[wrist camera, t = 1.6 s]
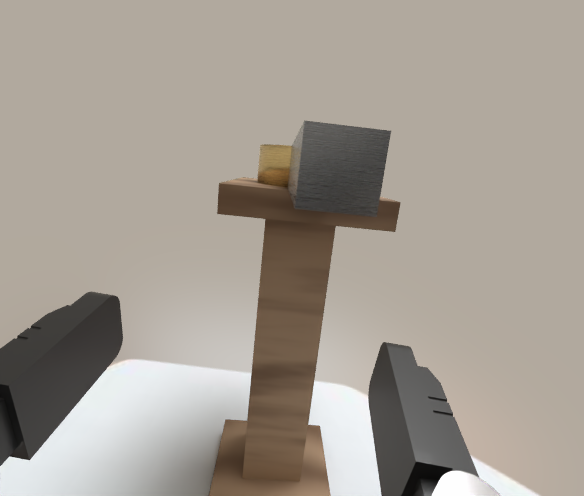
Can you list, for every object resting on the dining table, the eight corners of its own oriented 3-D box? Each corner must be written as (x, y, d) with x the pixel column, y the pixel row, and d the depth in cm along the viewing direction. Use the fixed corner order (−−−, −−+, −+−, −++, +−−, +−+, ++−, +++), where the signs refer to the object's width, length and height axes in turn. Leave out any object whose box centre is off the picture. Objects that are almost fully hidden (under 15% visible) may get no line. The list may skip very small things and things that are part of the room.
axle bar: (442, 224, 12) (461, 139, 12) (224, 201, 12) (230, 112, 11) (341, 189, 33) (346, 157, 32) (260, 180, 32) (262, 148, 32)
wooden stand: (335, 563, 30) (400, 202, 22) (198, 557, 29) (219, 183, 22) (317, 438, 43) (354, 189, 36) (224, 432, 42) (242, 177, 35)
